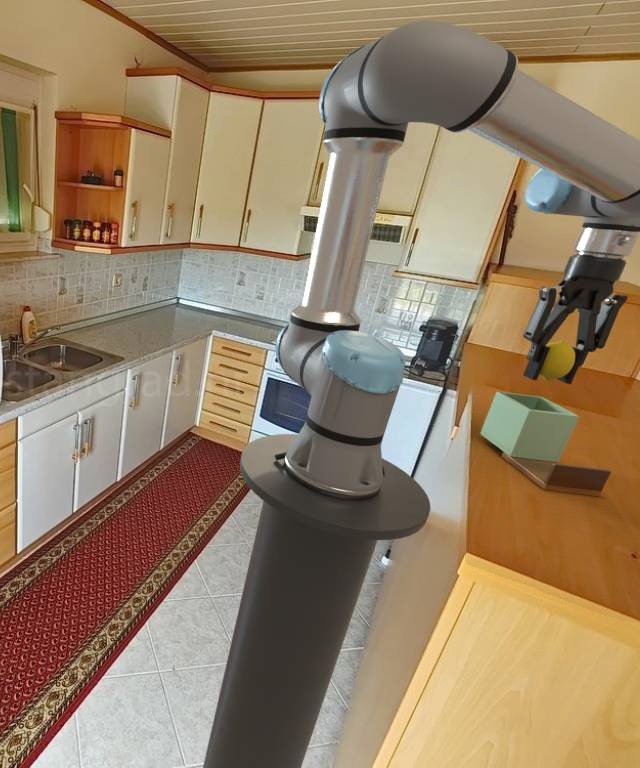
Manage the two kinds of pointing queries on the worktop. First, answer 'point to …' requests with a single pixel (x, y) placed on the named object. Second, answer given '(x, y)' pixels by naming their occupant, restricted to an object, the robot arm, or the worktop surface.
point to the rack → (561, 475)
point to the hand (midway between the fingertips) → (546, 379)
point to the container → (528, 426)
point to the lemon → (558, 361)
